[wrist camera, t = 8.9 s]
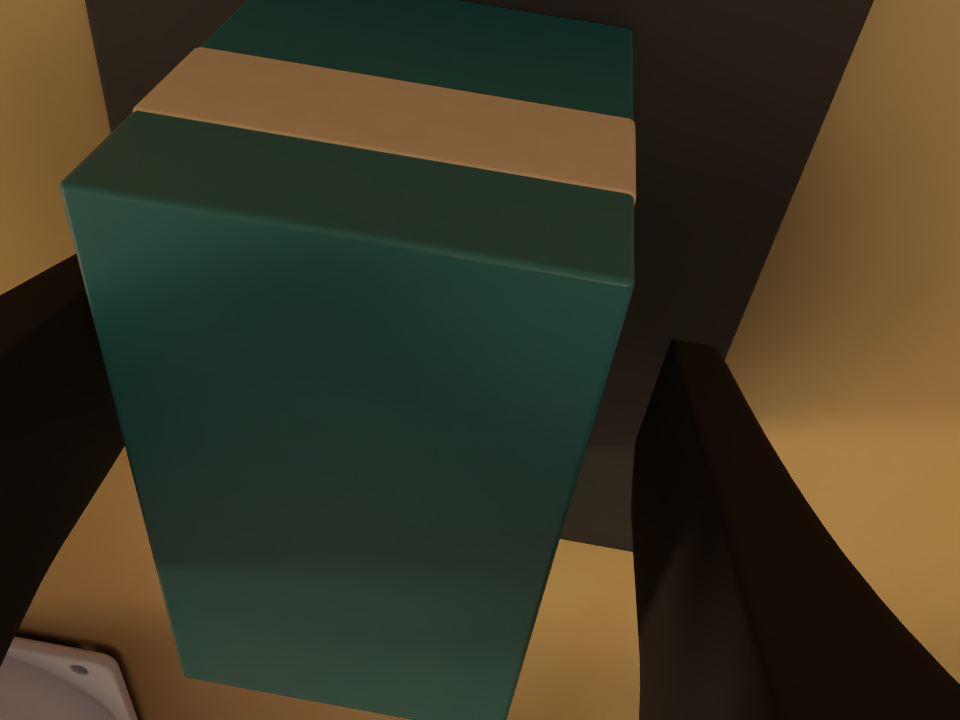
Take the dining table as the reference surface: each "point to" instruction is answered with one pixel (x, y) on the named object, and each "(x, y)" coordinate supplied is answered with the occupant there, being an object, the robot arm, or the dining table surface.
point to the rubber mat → (659, 171)
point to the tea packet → (364, 334)
